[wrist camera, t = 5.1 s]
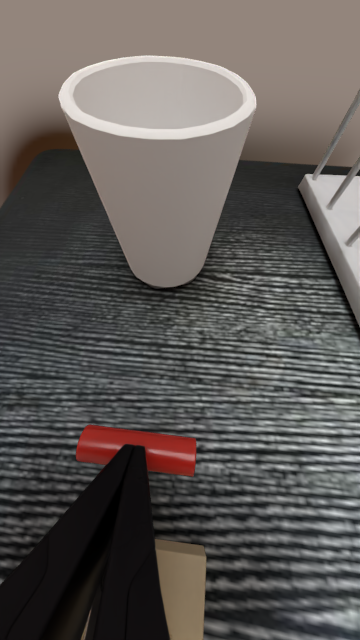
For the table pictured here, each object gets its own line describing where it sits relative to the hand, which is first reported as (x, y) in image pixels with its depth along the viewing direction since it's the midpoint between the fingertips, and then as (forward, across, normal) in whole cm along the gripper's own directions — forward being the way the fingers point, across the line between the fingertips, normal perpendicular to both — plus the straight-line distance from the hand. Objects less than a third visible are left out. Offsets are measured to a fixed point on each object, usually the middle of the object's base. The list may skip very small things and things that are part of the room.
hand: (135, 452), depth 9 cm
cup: (+16, +1, -6) cm, 18 cm away
